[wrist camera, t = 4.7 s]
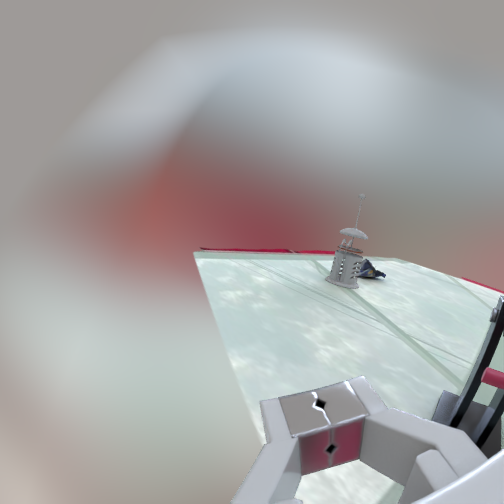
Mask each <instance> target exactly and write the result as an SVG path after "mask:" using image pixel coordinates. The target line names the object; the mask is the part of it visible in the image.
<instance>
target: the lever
mask: <svg viewBox="0 0 504 504" xmlns="http://www.w3.org/2000/svg"><path fill="white" fill-rule="evenodd" d="M503 336H504V330H503ZM481 382H484V383H486V384H489V385H492V386H495V387H498V388H500V389H503V390H504V373H503V372H500V371H497V370H494V369H491V368H489V367H487V368H486V369H485V371H484V373H483V375H482V378H481Z"/></svg>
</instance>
